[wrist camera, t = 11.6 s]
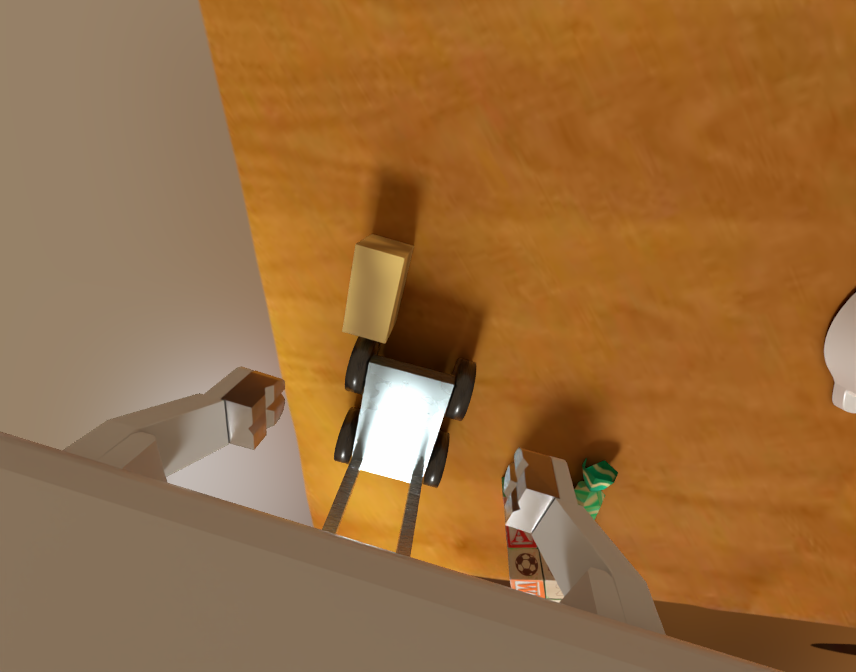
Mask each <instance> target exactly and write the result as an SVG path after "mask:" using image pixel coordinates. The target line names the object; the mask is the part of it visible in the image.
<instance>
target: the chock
mask: <svg viewBox="0 0 856 672" xmlns="http://www.w3.org/2000/svg"><path fill="white" fill-rule="evenodd" d="M413 248H414V246H413V245H410V244H406V243H403V242H399V241H396V240H392V239H389V238H385V237H382V236H378V235H375V234H371V235H369V236H368V237H366V238H365V239H363V240H361V241H360V242H358V243H357V244H356V245H355V252H354V258H353V265H352V272H351V278H350V285H349V291H348V298H347V304H346V311H345V318H344V324H343V331H342V332H346V333H349V334H353V335H356V336H360V337H363V338H367V339H370V340H374V341H377V342H381V343H384V344H385V343H386V341H387V339H388V337H389V335H390V333H391V331H392V329H393V327H394V325H395V323H396V321H397V316H398V312H399V308H400V303H401V299H402V295H403V291H404V286H405V282H406V278H407V274H408V269H409V265H410V261H411V257H412V252H413Z"/></svg>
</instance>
